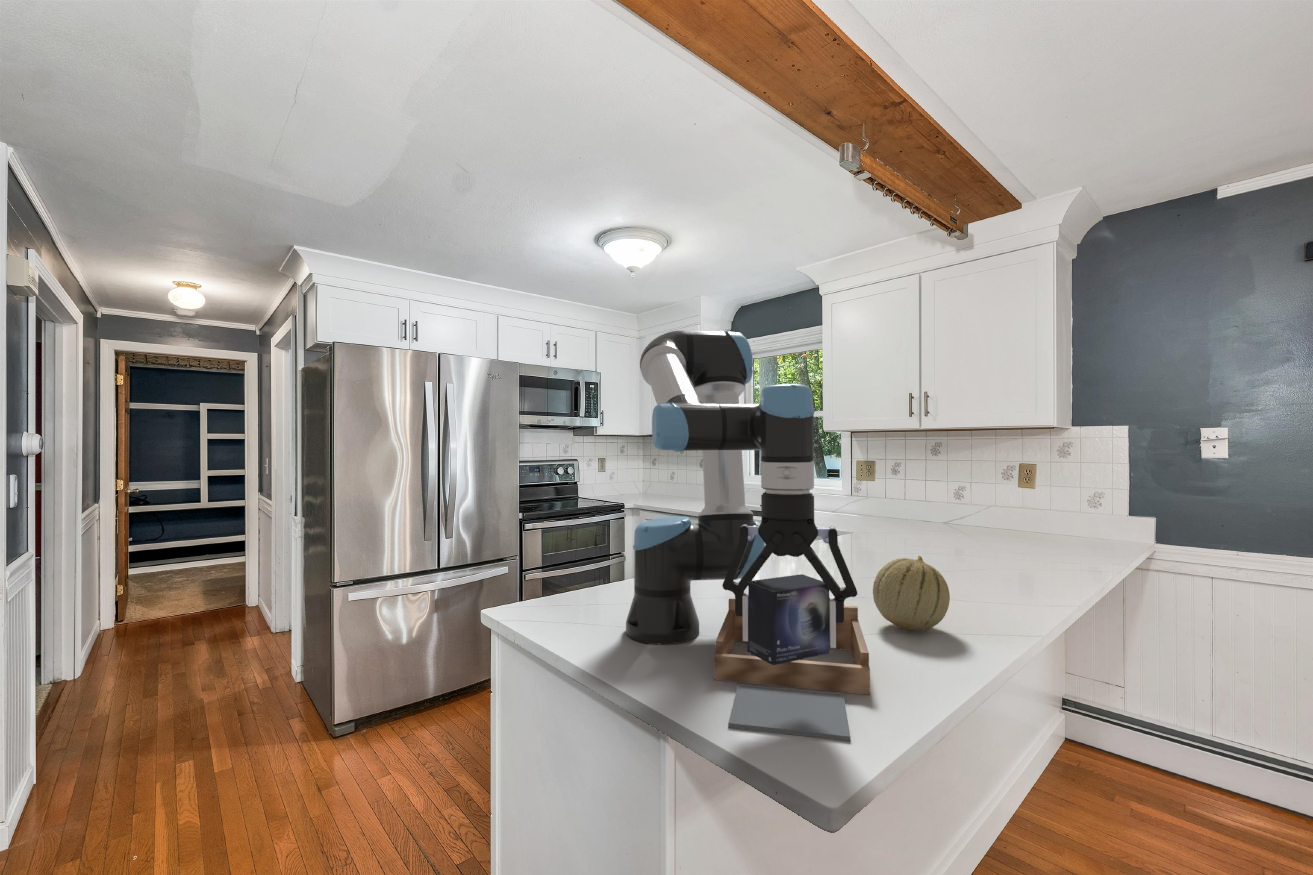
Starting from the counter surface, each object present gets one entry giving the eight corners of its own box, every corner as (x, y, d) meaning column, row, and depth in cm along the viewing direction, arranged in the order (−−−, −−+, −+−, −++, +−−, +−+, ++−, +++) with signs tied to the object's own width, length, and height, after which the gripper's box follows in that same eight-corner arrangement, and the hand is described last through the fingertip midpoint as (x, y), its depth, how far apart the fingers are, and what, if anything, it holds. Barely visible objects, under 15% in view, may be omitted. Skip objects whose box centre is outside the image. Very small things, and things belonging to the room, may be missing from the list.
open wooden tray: (714, 679, 96) (714, 631, 96) (729, 638, 115) (729, 598, 115) (870, 694, 90) (869, 642, 90) (857, 648, 109) (857, 606, 110)
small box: (774, 667, 79) (773, 590, 79) (745, 652, 84) (745, 580, 85) (832, 654, 84) (831, 581, 84) (801, 640, 89) (800, 572, 89)
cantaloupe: (860, 628, 121) (860, 556, 121) (890, 613, 131) (890, 547, 131) (934, 646, 111) (933, 567, 111) (960, 628, 121) (960, 556, 121)
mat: (728, 727, 80) (728, 722, 80) (738, 687, 92) (738, 684, 92) (850, 741, 76) (850, 736, 76) (843, 698, 88) (843, 694, 88)
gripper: (702, 492, 84) (703, 643, 83) (877, 494, 78) (879, 657, 77) (709, 488, 91) (710, 627, 91) (871, 490, 85) (872, 639, 85)
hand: (788, 641), depth 84 cm, fingers closed on small box, 11 cm apart
